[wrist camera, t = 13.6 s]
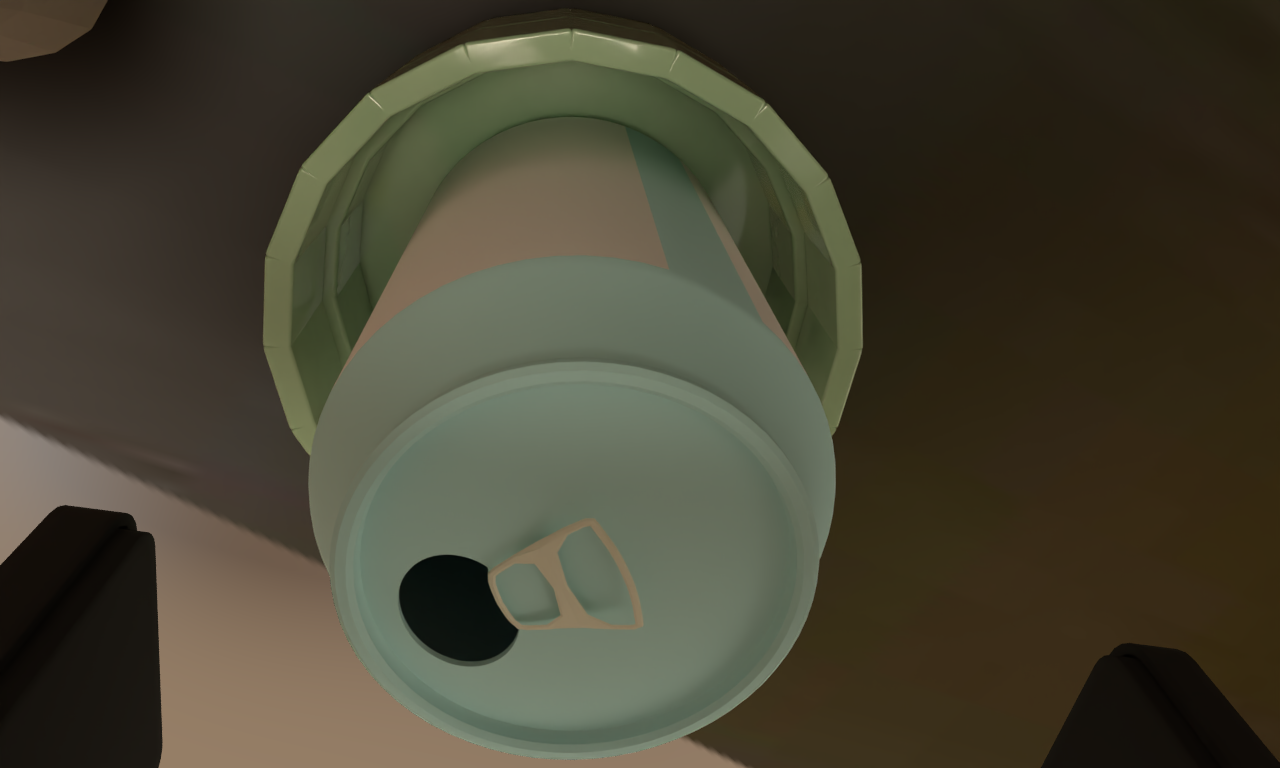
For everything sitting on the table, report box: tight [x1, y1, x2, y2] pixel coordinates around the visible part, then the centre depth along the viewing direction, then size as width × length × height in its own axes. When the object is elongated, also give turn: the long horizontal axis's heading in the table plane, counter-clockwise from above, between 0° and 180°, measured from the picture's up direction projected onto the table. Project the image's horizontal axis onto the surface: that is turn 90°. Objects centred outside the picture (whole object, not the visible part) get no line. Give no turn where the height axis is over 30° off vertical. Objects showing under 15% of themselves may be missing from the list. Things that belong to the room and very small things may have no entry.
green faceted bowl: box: [263, 8, 863, 456], centre depth 20 cm, size 11×11×6 cm
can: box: [308, 117, 836, 760], centre depth 16 cm, size 7×7×12 cm
